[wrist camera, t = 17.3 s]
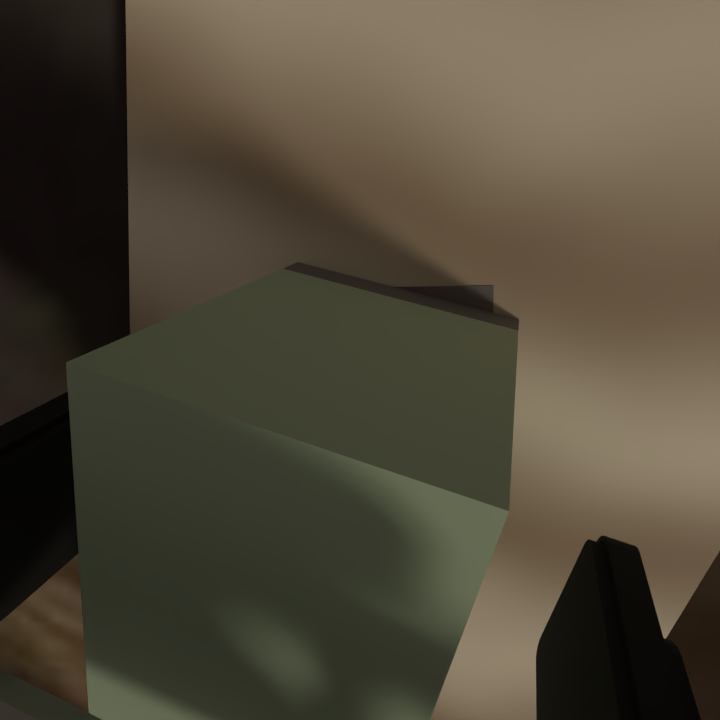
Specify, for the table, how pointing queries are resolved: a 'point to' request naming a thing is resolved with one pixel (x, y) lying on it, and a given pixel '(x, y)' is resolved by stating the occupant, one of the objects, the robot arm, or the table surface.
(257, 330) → the block
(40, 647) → the table surface
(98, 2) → the table surface
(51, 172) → the table surface
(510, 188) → the birch board
